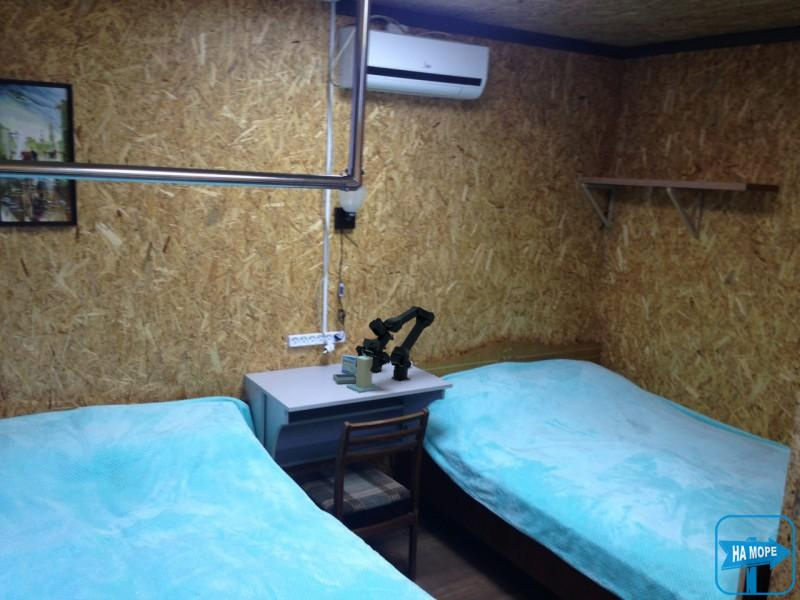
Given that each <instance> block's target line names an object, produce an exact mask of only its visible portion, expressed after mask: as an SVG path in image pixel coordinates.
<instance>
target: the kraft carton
mask: <svg viewBox="0 0 800 600" xmlns="http://www.w3.org/2000/svg"><path fill="white" fill-rule="evenodd" d="M372 363H373V357H369V356H360V357H357V374H356V386H358V387H361V388H367V387H371V386H372V384H373V383H372V382H373V373H372V372H371V371H370V369H371V367H372Z"/></svg>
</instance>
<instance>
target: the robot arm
mask: <svg viewBox="0 0 800 600" xmlns="http://www.w3.org/2000/svg"><path fill="white" fill-rule="evenodd" d="M413 319H415V324H414V325H413V326H412V328H411V330H410V331H409V333H408V334H407V336H406V338H405V339H404V341H402V344H401V345H399V346H397V345H395V346H394V347H393V349H392V351H390V353H391V354H390V355H389V353H388V352H387V351H386V350H387V345H388V344H389V342H390V341H394V340H395V338H394V333H395V334H396V333H399V332H400V330H402V328H403V326H404V325H405V324H407V323H408V322H410V321H411V320H413ZM435 319H436V318H435V313H434V312H432V311H429V310H426V309H424V308H423V307H421V306H416V305H412V306H411V307H409V309H408V310H407V309H406V311H404V312H402V313H401V314H399V315H398V316H394V317H389V318H386V319H384V321H383V320H382V318H381V317H376V318H375V319H373V320H372V321H370V322H369V324H368V328H369V329H370V331H371V332H372V333H373V335H374V336H376V338H373V339H371V338H368V337H364V339H363V341H362V345H360V344H359V345H358V344H357V346H356V347H355V348H354V349H355V352H356V353H357V356H358V357H360V356H368V355H371V356H375V357H376V360H375V362H374V364H373V365H372V367H371V369H370V371H371V372H372V371H374V370H375V369H377V368H379V367H381V366H382V367H383V366H384V365H387V364H388V365H389V364H390V363H391V366H393V373H392V375H393V376H391V379H393V380H397V381H398V382H401V381H407V380H410V377H408V376H409V375H408V374H409V373H408V372H409V369H410V368H411V367H412V364H413V362H412V361H411V360H410V352H411V350H412V348H413V347H414V345H415V344H416V342H417V341H418V339H419V338H420V336H421V334H422V332H424V330H425V329H427V328H428V327H430V326H431V325H432V323H434V322H435ZM392 333H393V334H392ZM364 345H366V346H367V348H368V349H369V350H367V349H366V348H365V347H364ZM356 367H357V363H356Z"/></svg>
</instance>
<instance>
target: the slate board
mask: <svg viewBox="0 0 800 600" xmlns="http://www.w3.org/2000/svg"><path fill="white" fill-rule="evenodd" d="M346 388H348V389H350V390H351V389H352V390H351V391H354V392H356V391H357V392H356V393H358V392H359V393H358V394H362V393H367V392H372V391H377V390H381V389H382V388H381V386H380V385H377V384H374V383H372V386H371V387H367V388H361V387H358V386H356V384H346ZM361 392H362V393H361Z"/></svg>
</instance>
